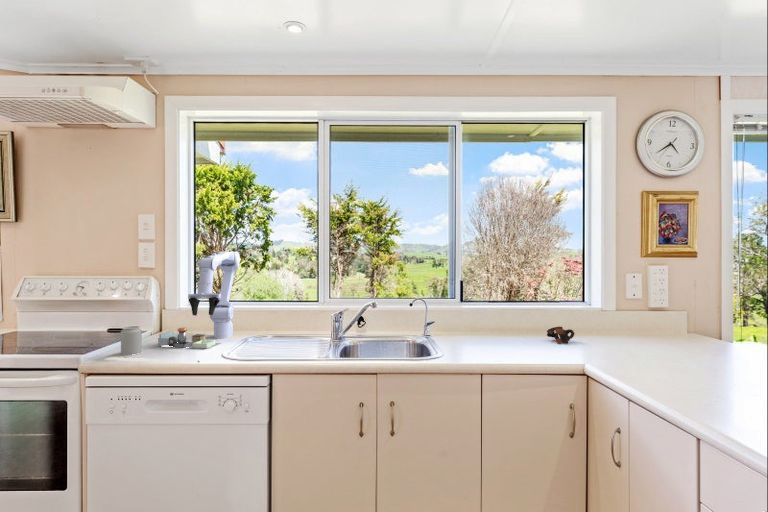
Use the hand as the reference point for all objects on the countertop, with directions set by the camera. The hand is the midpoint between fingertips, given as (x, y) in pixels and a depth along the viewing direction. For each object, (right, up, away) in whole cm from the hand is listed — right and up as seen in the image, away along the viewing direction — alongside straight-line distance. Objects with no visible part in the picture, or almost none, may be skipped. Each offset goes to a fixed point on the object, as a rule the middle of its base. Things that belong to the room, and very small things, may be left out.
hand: (202, 315), depth 194 cm
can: (-25, -16, -11) cm, 31 cm away
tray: (+1, -14, 0) cm, 14 cm away
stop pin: (-9, -14, +1) cm, 17 cm away
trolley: (-15, -14, +5) cm, 21 cm away
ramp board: (-7, -15, +4) cm, 17 cm away
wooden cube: (-4, -14, +7) cm, 16 cm away
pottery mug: (+161, -15, +14) cm, 162 cm away
